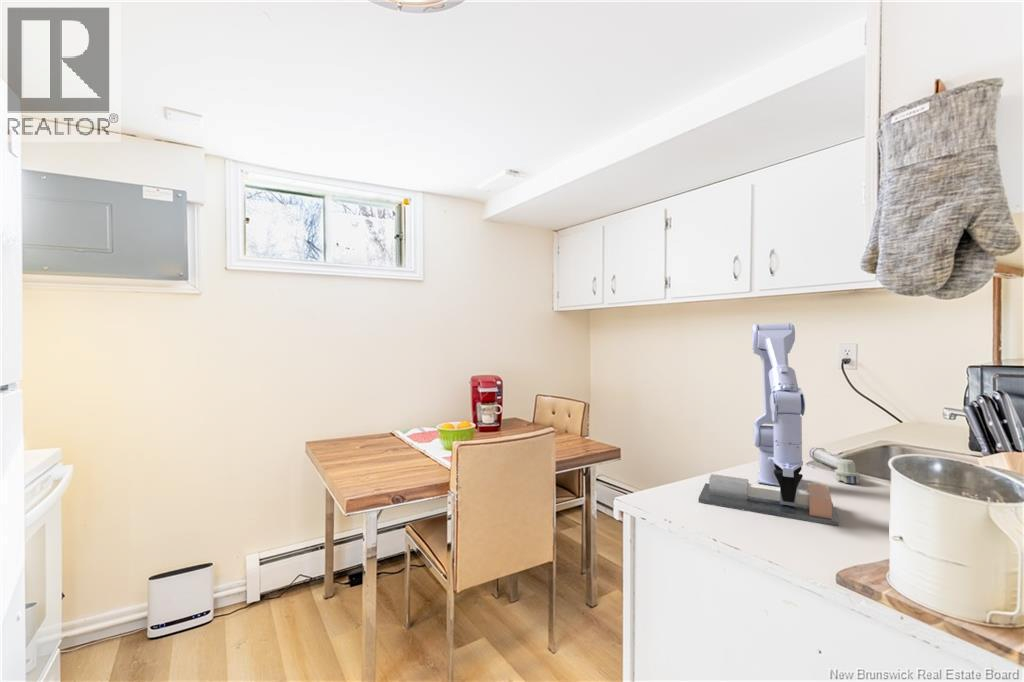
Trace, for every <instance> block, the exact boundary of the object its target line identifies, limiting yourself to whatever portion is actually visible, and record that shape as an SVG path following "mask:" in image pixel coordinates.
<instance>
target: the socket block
mask: <svg viewBox="0 0 1024 682" xmlns="http://www.w3.org/2000/svg"><path fill="white" fill-rule="evenodd" d="M806 486H807V490H806V492H809V506H808V507H809V514H810V515H812V516H818V517H824V518H830V519H832V503H833V500H832V497H831V493H830V490H829V486H828V485H827V484H819V483H813V482H807V483H806Z"/></svg>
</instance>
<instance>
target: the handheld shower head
mask: <svg viewBox="0 0 1024 682" xmlns="http://www.w3.org/2000/svg"><path fill="white" fill-rule="evenodd" d="M809 456H810V458H812V459H813V460H814V461H815V462H816V463H817V462H819V463H823V464H824V465H828V466H830V467H833V468H834V470H833V472H834V474H836V481H837V482H843V483H847V484H858V483H859V477H860V472H859V471H857V470H856V463H855V462H854V460H851V459H845V458H841V457H840V456H837V455H836V454H833V453H831V452H829V451H827V450H826V449H825V448H823V447H812V448H811V449H810V450H809Z"/></svg>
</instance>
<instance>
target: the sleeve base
mask: <svg viewBox="0 0 1024 682" xmlns="http://www.w3.org/2000/svg"><path fill="white" fill-rule="evenodd" d="M708 480H709V481H708V483H704V485H703V488H702V490H701V492H700V494H699V496H698V503H700V502H704V503H703V504H706V503H709V504H708V505H712V504H716V505H715V506H718V505H722V506H721V507H724V506H727V507H726V508H730V507H733V508H732V509H735V508H738V509H737V510H741V509H744V511H747V510H749V512H753V511H754V512H753V513H759V514H760V513H761V514H765V515H769V516H771V515H772V516H778V517H783V518H790V519H796V520H800V521H805V522H812V523H818V524H824V525H830V526H834V527H835V526H836V527H839V520H838V517H837V513H836V510H835V506H834V503H833V502H832V519H830V518H824V517H818V516H812V515H810V514H809V507H808V505H802V504H795V506H790V505H784V504H780V501H776V500H770V499H763V498H757V497H751V496H747V484H748V483H749V479H748V478H742V477H736V476H735V477H734V476H727V475H719V474H713V473H712V474H710V476H709V479H708Z"/></svg>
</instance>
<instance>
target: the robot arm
mask: <svg viewBox="0 0 1024 682" xmlns="http://www.w3.org/2000/svg"><path fill="white" fill-rule="evenodd" d="M795 340H796V329H795V325H794V324H793V323H792V322H789V323H754V324H753V325H752V327H751V344H752V345H751V346H752V347H751V350H753V354H754V355H757V356H759V357H760V360H761V364H762V367H761V368H762V386H763V387H762V389H763V390H762V391H763V392H762V393H763V395H762V396H763V413H762V414H761V415H759V416H757V417H756V418H755V419H754V421H753V428H752V430H753V431H752V439H753V445H754V446H755V447H756V448H758V452H759V453H758V454H759V458H758V459H759V463H758V464H759V472H758V475H757V476H758V477H757V483H758V484H763V485H770V486H776V487H777V486H778V487H779V488H780V490H781V495H782V499H783V501H786V502H792V503H793V502H794V500H795V495H796V490H798V486H799V484H800V483H801V481H802V479H803V474H802V473H800V472H801V471H802V468H803V467H802V466H804V461H803V434H802V433H803V430H802V429H803V427H802V425H803V424H802V423H803V420H802V419H803V418H802V417H803V416H804V415H805V411H806V399H805V394H804V392H803V390H802V389H801V387H799V385H798V381H797V375H796V371H795V369H794V368H792V367H791V366H789V355H788V354H790V353H791V350H792V349H793V347H794V344H795ZM765 424H766V425H765Z"/></svg>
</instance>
